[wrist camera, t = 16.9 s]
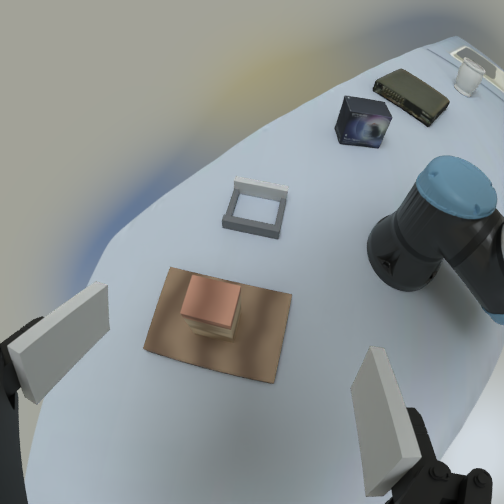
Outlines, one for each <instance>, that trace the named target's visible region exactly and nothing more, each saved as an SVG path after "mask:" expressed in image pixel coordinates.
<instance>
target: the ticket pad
mask: <svg viewBox="0 0 504 504" xmlns="http://www.w3.org/2000/svg"><path fill="white" fill-rule="evenodd" d="M180 314H181V315H182V317H183V318H184V320H185V321H186V322H187V324H188V325H189V327H190V328H191V330H192V331H193V332H194V333H195V334H199V335H202V336H206V337H210V338H214V339H218V340H222V341H226V342H230V343H234V339H235V335H236V331H237V327H238V323H239V319H240V315H241V286H239V285H234V284H230V283H226V282H221V281H217V280H213V279H209V278H204V277H200V276H196V275H192V277H191V280H190V284H189V287H188V290H187V293H186V296H185V299H184V302H183V305H182V309H181V312H180Z"/></svg>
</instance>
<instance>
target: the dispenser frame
mask: <svg viewBox="0 0 504 504" xmlns="http://www.w3.org/2000/svg"><path fill="white" fill-rule="evenodd" d="M288 188H289V186H284V185H279V184H274V183H269V182H264V181H259V180H253V179H248V178H243V177H237V176H236V177H235V179H234V191H233V194H232V197H231V200H230V203H229V206H228V209H227V212H226V215H224V216H223V219H222V225H223V228H226V229H231V230H236V231H241V232H246V233H250V234H255V235H260V236H265V237H269V238H274V239H278V236H279V232H280V227H281V222H282V217H283V213H284V208H285V203H286V198H287V193H288ZM239 194H244V195H249V196H254V197H260V198H265V199H269V200H274V201H279V202H280V205H279V209H278V214H277V218H276V223H275V225H273V224H268V223H263V222H258V221H254V220H249V219H244V218H239V217H234V216H232V215H233V212H234V209H235V206H236V203H237V199H238V196H239Z"/></svg>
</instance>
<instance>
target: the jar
mask: <svg viewBox="0 0 504 504" xmlns="http://www.w3.org/2000/svg"><path fill="white" fill-rule="evenodd" d="M483 74H485V70H484V69H483V68H482V67H481V66H480V65H479V64H477V63H476V62H474V61H472V60H470V59H468V58H464V62H463V63H462V65H461V66H460V68H459V71H458V75H457V78H456V84H455V85H454V87H455V89H456V90H457V91H459V92H460V93H461V94H463V95H465V96H467V97H471V93H473V92H474V91H475V90H476V88H477V87H478V86H479V85H480V83H481V81H482V78H483Z"/></svg>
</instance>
